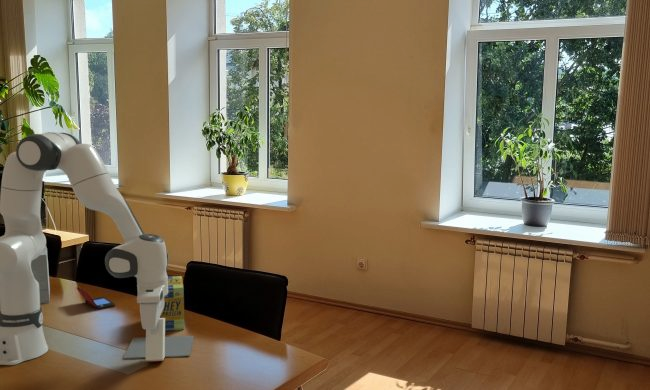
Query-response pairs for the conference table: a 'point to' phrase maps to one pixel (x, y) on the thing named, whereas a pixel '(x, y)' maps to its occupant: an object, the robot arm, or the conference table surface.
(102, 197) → the robot arm
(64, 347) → the conference table surface
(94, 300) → the handheld game console
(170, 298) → the protein box
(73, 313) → the conference table surface
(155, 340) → the tall block
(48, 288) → the hard drive box
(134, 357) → the mat
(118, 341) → the conference table surface
